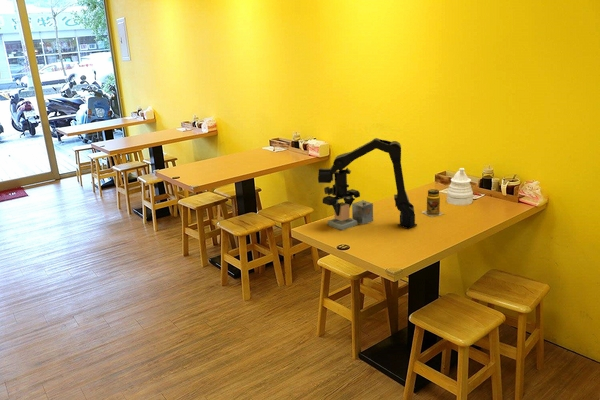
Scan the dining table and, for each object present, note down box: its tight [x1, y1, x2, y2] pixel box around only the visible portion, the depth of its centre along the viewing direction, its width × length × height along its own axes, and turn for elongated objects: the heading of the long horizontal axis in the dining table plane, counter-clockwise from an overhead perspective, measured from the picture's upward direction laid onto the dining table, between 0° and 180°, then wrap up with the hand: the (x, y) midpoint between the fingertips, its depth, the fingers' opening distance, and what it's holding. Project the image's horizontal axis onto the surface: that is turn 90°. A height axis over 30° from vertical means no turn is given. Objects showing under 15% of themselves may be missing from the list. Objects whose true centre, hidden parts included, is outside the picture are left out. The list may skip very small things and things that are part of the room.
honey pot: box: [446, 167, 474, 206], centre depth 262 cm, size 13×13×18 cm
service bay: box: [327, 217, 358, 231], centre depth 242 cm, size 10×10×2 cm
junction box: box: [351, 199, 374, 226], centre depth 244 cm, size 8×7×10 cm
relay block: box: [334, 201, 351, 221], centre depth 240 cm, size 5×5×7 cm
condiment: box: [421, 188, 444, 217], centre depth 248 cm, size 7×8×12 cm
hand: (342, 214), depth 240 cm, fingers closed on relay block, 5 cm apart
